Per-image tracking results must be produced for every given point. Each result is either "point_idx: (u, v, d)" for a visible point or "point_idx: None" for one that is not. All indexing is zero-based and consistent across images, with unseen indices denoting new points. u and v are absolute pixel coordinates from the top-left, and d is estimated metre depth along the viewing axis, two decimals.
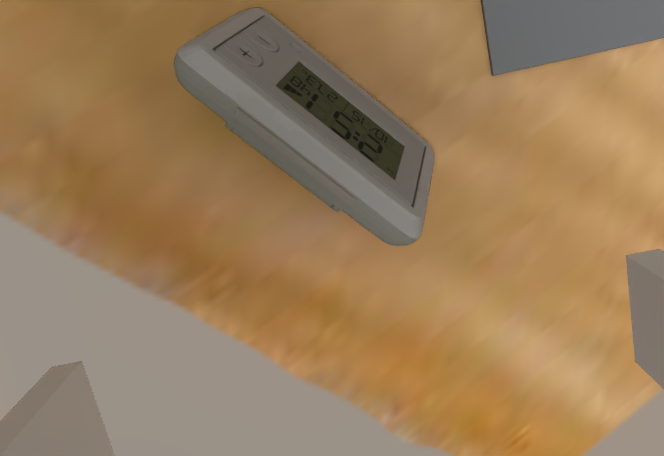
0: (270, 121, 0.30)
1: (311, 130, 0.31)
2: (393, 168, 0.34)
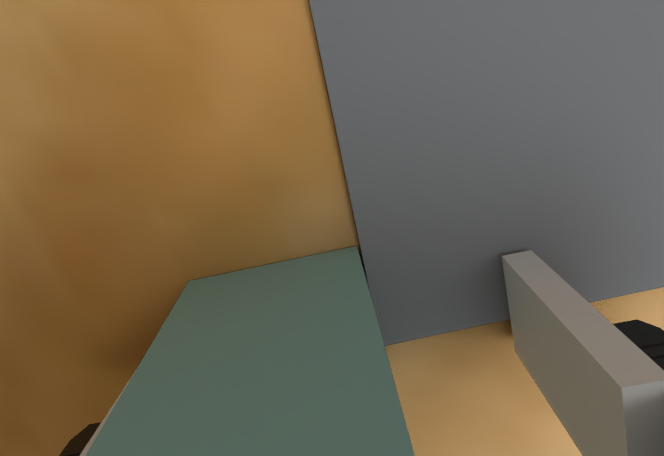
0: None
1: None
2: None
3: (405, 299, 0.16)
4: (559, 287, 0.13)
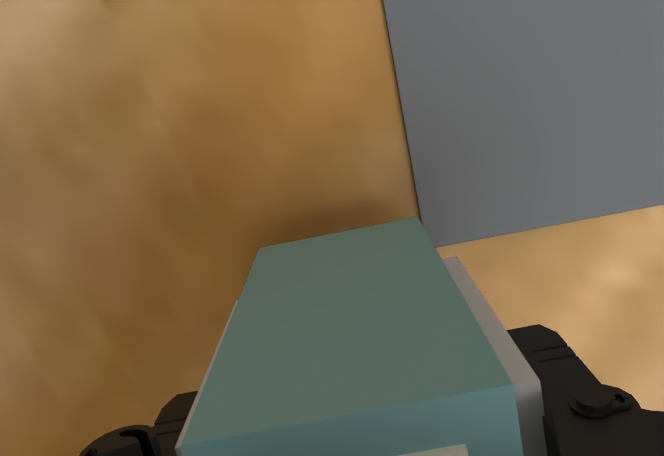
0: None
1: None
2: None
3: (445, 214, 0.21)
4: (470, 293, 0.13)
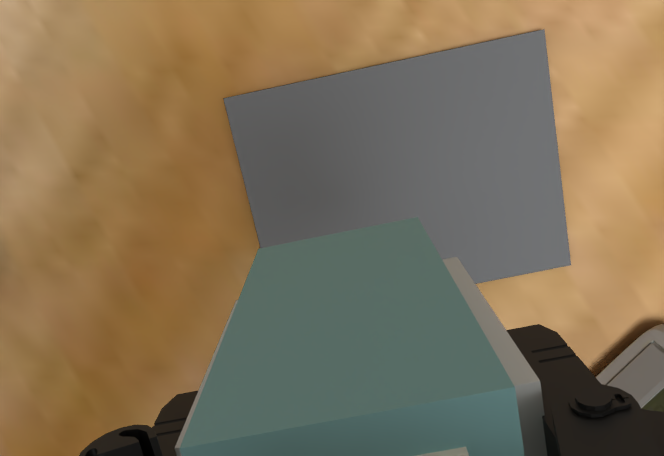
0: None
1: None
2: None
3: None
4: (470, 293, 0.13)
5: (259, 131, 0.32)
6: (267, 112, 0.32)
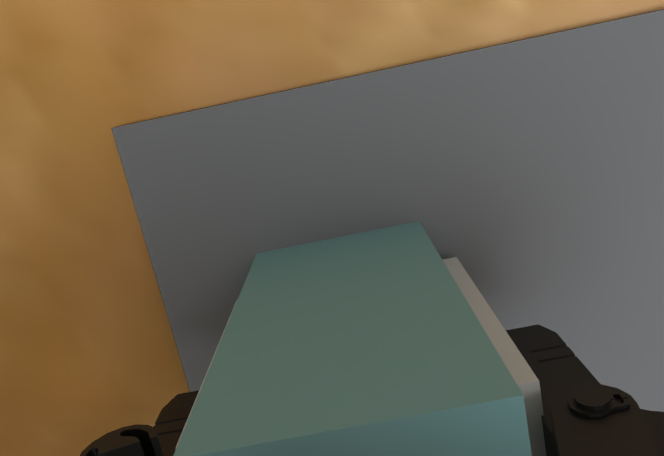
0: None
1: None
2: None
3: None
4: (469, 293, 0.13)
5: (186, 194, 0.16)
6: (202, 156, 0.16)
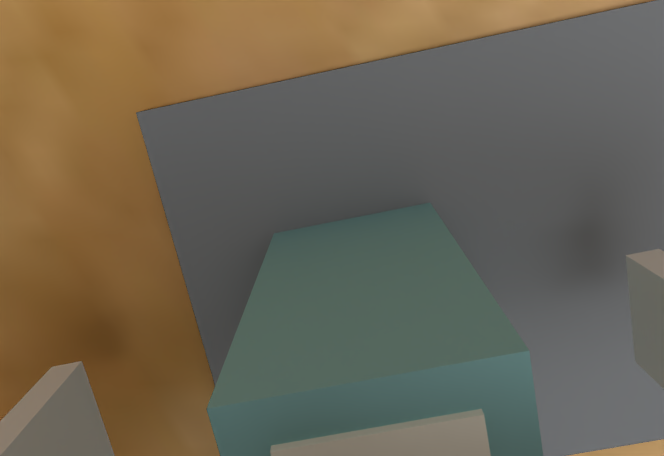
0: None
1: None
2: None
3: None
4: None
5: (207, 176, 0.17)
6: (222, 139, 0.16)
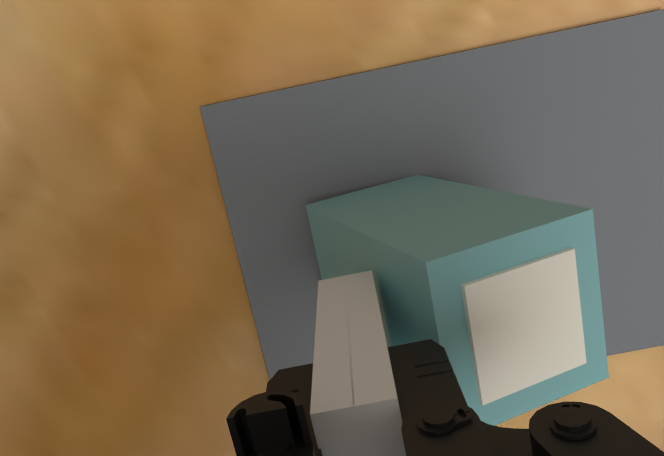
0: None
1: None
2: None
3: None
4: (369, 308, 0.14)
5: (251, 154, 0.22)
6: (263, 127, 0.22)
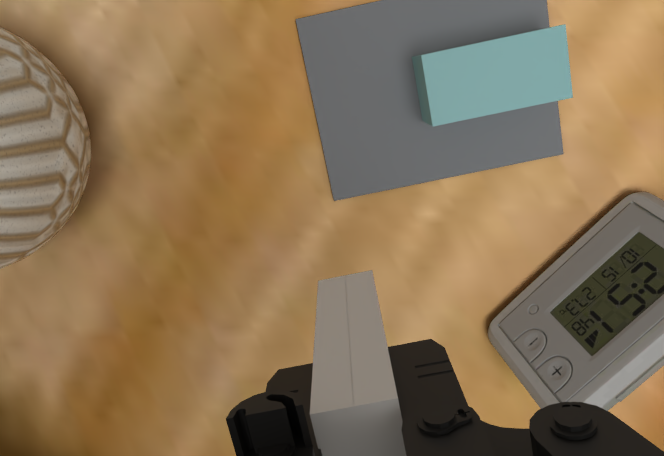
0: (632, 375, 0.37)
1: (643, 341, 0.37)
2: None
3: (342, 183, 0.44)
4: (369, 308, 0.14)
5: (322, 45, 0.41)
6: (329, 30, 0.41)
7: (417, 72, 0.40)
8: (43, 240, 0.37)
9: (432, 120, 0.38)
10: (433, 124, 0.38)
